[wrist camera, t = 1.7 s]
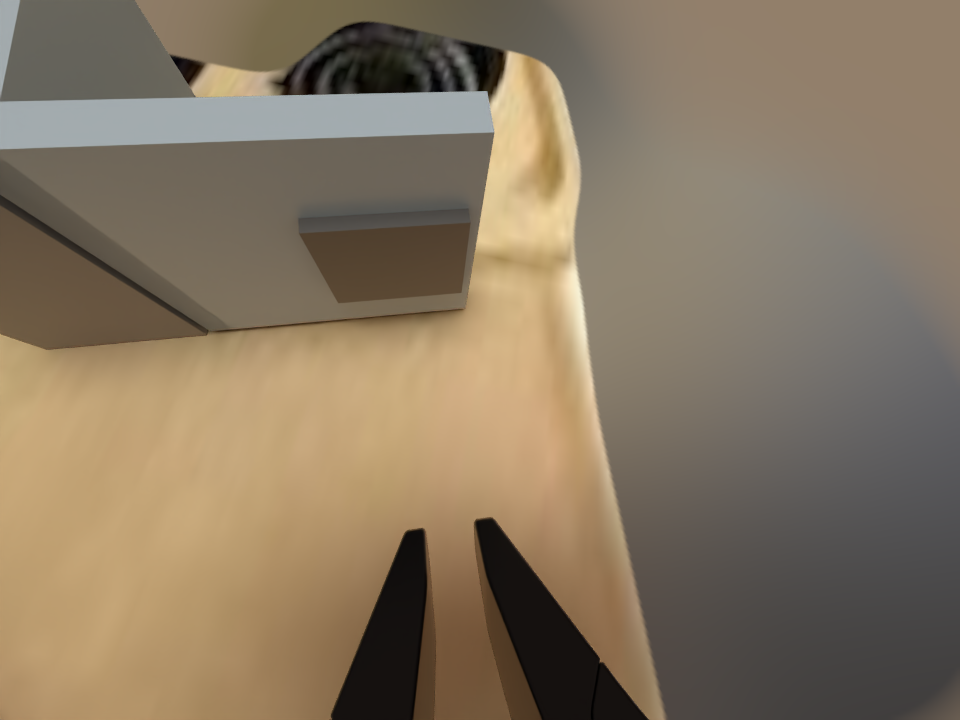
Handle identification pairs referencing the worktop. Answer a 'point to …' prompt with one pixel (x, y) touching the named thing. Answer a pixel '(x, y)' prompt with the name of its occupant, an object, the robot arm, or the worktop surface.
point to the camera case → (72, 292)
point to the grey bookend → (237, 176)
